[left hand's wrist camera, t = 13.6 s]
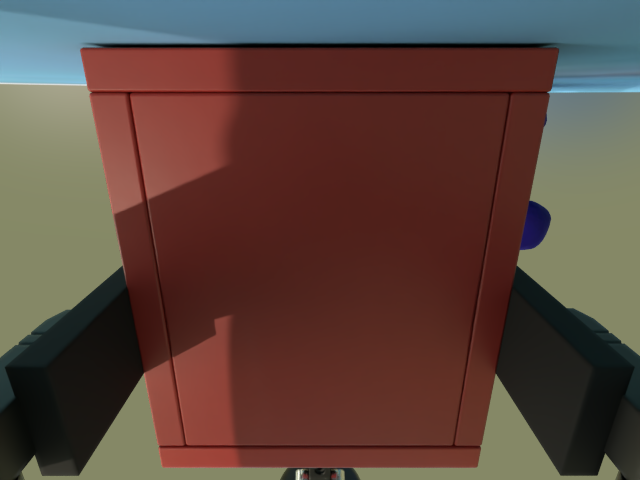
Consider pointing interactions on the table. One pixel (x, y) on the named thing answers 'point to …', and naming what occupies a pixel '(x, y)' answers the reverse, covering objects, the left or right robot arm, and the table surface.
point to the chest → (319, 233)
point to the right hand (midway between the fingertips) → (319, 379)
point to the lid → (319, 456)
